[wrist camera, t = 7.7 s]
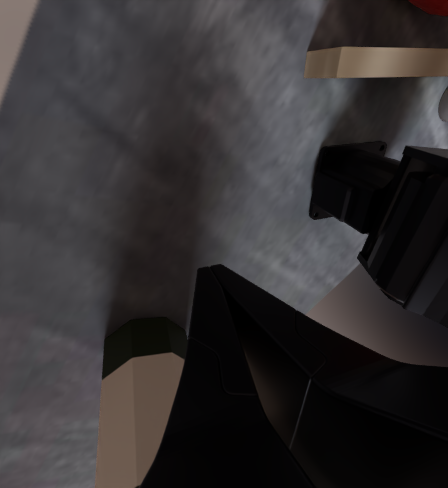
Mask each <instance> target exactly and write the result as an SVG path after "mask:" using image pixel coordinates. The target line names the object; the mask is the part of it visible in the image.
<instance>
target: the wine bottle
mask: <svg viewBox="0 0 448 488" xmlns="http://www.w3.org/2000/svg"><path fill="white" fill-rule="evenodd" d="M187 341H188V340H187V336H186V332H185V330H183V329H182V328H180V327H179V326H178V325H176V324H175V323H173V322H172V321H171V320H169V319H168V318H166V317H158V318H147V319H135V320H130V321H129V322H127V323H126V324H125V325H123V326H122V327H121V328H119V329H118V330H117V331H115V332H114V333H113V334H111V335H110V336H109V337H108V338H106V339H105V340H104V356H103V371H102V386H101V402H100V417H99V433H98V448H97V463H96V479H95V488H139V487H140V485H141V483H142V481H143V479H144V477H145V476H146V474H147V472H148V470H149V468H150V466H151V465H152V463H153V461H154V458H155V456H156V454H157V451H158V449H159V446H160V443H161V440H162V437H163V434H164V431H165V428H166V425H167V421H168V418H169V415H170V411H171V408H172V405H173V401H174V398H175V395H176V391H177V388H178V385H179V381H180V377H181V373H182V369H183V365H184V360H185V354H186V349H187Z"/></svg>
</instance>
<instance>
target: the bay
mask: <svg viewBox="0 0 448 488" xmlns="http://www.w3.org/2000/svg"><path fill="white" fill-rule="evenodd" d="M426 76H448V49H436V48H384V47H336V48H329V49H323V50H316V51H309V52H307V56H306V64H305V73H304V78H366V77H426ZM438 112H439V117H440V119H441V120H442V121H445V122H448V88H447V89H446V91H445V92H444V94H443V96H442V98H441V101H440V104H439V111H438Z"/></svg>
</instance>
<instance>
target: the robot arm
mask: <svg viewBox="0 0 448 488" xmlns="http://www.w3.org/2000/svg"><path fill="white" fill-rule="evenodd" d="M386 148H387V144H386V143H385V142H382V141H377V142H366V143H355V144H345V145H334V146H325V147H323V148H322V149H321V151H320V154H319V160H318V166H317V172H316V176H315V182H314V188H313V194H312V199H311V206H310V212H309V216H310V218H312V219H313V220H317V219H323V218H328V217H335V218H336V219H338V220H339V221H341V222H344V223H346V224H348V225H349V226H351V227H352V228H354V229H355V230H357V231H358V232H360V233H362V234H365V233H366V234H368V237H367V239H366V242H365V244H364V246H363V248H362V251H361V252H359V254H358V257H357V259H358V260H359V261H360V263H361V264H362V265H363V267H364V268H365V269H366V271H367V272H368V274H369V275H370V276H371V277H372V279H373V280H374V281H375V283H376V285H377V286H378V287H379V288H380V290H381V291H382V292H383V293H384V294H385V295H386V296H387V297H388V298H389V299H390V300H393V301H395V302H396V303H398V304H400V305H402V307H403V308H404V309H406V310H409V311H412V312H414V313H417V314H420V315H423V316H425V317H428V318H429V319H432V320H434V321H436V322H438V323H440V324H442V325H443V326H445V327H447V328H448V149H439V148H428V147H418V146H405V149H404V151H403V153H402V154H404V155H403V157H402V159H401V161H398V160H395V159H391V158H388V157H384V154H385V151H386ZM327 151H328V153H327V154H326V155H325V153H326V152H327ZM315 213H316V214H315ZM314 214H315V215H314ZM139 488H448V367H437V366H425V365H414V364H408V363H403V362H399V361H396V360H393V359H390V358H388V357H385V356H383V355H381V354H379V353H377V352H375V351H373V350H371V349H369V348H367V347H365V346H363V345H361V344H359V343H357V342H355V341H353V340H351V339H349V338H347V337H345V336H342V335H341V334H339V333H337V332H335V331H333V330H331V329H329V328H327V327H325V326H323V325H322V324H320V323H318V322H316V321H315V320H313V319H311V318H309V317H308V316H306V315H304V314H303V313H301V312H299V311H298V310H295V309H294V308H293V307H291V306H289V305H288V304H286V303H285V302H283V301H281V300H280V299H278V298H276V297H275V296H273V295H271V294H270V293H268V292H266V291H265V290H263V289H262V288H260V287H258V286H257V285H255V284H253V283H252V282H250V281H248V280H247V279H245V278H244V277H242V276H240V275H239V274H237V273H235V272H234V271H232V270H230V269H229V268H227V267H225V266H224V265H222V264H217V265H212V266H210V267H208V266H207V267H202V268H198V270H197V277H196V284H195V292H194V299H193V306H192V313H191V321H190V328H189V335H188V341H187V349H186V354H185V360H184V365H183V369H182V373H181V377H180V381H179V385H178V388H177V391H176V395H175V398H174V401H173V405H172V408H171V411H170V415H169V418H168V421H167V425H166V428H165V431H164V434H163V437H162V440H161V443H160V446H159V449H158V451H157V454H156V456H155V458H154V461H153V463H152V465H151V466H150V468H149V470H148V472H147V474H146V476H145V477H144V479H143V481H142V483H141V485H140V487H139Z"/></svg>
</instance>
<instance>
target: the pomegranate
mask: <svg viewBox="0 0 448 488" xmlns="http://www.w3.org/2000/svg"><path fill="white" fill-rule="evenodd" d="M408 1H409V2H411V3H412V4H413V5H415V6H416V7H418V8H421V9H422V10H423V11H425V12H426V13H428V14H433V15H439V16H446V17H447V16H448V0H408Z"/></svg>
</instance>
